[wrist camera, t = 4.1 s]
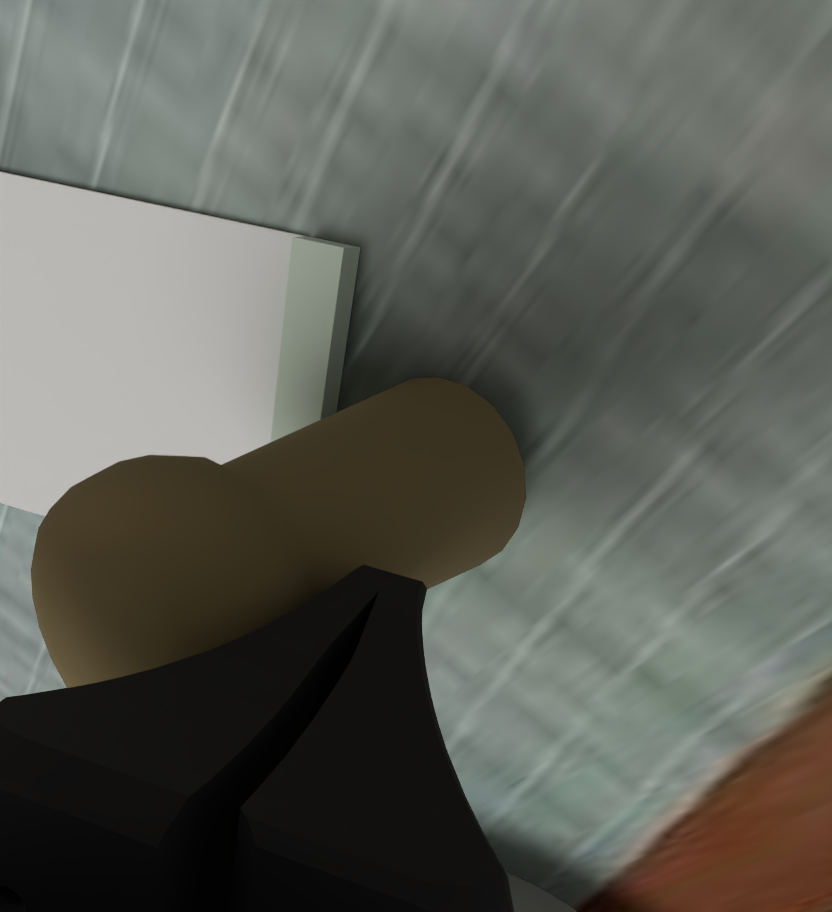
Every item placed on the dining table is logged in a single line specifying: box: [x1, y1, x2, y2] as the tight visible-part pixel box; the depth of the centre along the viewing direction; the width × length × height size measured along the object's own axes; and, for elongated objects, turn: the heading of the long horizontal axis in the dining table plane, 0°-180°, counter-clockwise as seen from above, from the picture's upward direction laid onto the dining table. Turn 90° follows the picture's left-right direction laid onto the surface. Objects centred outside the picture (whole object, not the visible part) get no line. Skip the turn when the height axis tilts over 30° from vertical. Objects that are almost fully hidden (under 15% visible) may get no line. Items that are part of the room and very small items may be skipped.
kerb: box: [271, 237, 360, 442], centre depth 20 cm, size 2×12×2 cm, turn 169°
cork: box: [31, 377, 526, 688], centre depth 14 cm, size 6×6×11 cm
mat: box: [0, 171, 308, 516], centre depth 21 cm, size 12×12×1 cm
